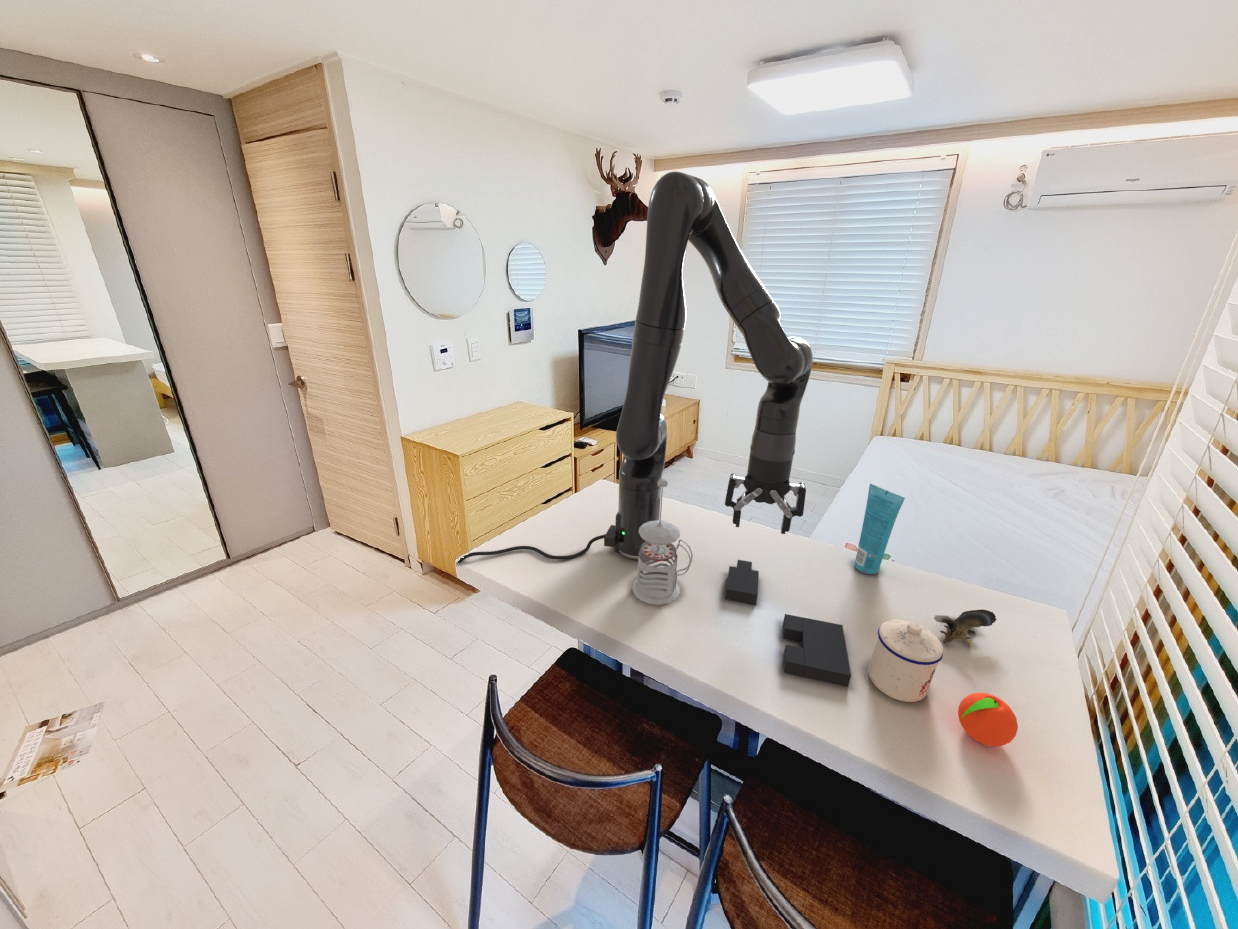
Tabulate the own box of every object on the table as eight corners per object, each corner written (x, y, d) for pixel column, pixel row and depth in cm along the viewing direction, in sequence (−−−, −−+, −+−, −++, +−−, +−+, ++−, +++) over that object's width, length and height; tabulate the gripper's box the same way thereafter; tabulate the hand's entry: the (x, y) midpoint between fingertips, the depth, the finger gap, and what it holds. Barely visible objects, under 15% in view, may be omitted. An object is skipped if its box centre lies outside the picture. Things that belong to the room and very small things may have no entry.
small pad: (755, 605, 99) (757, 595, 98) (725, 599, 100) (726, 589, 99) (757, 572, 108) (759, 563, 107) (729, 567, 110) (730, 558, 109)
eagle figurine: (980, 659, 85) (1005, 631, 89) (962, 621, 85) (989, 595, 89) (936, 652, 92) (962, 626, 96) (920, 617, 92) (946, 592, 96)
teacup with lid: (931, 713, 77) (953, 655, 72) (866, 692, 80) (883, 636, 75) (922, 658, 87) (942, 605, 82) (865, 642, 90) (880, 589, 85)
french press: (640, 570, 108) (645, 464, 98) (693, 582, 105) (704, 474, 94) (625, 598, 100) (629, 485, 89) (682, 612, 96) (693, 497, 86)
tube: (887, 572, 109) (910, 493, 101) (877, 580, 107) (899, 500, 99) (855, 556, 115) (874, 480, 107) (844, 564, 112) (863, 487, 104)
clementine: (971, 762, 70) (987, 727, 67) (934, 719, 76) (948, 685, 73) (1020, 754, 71) (1039, 719, 68) (980, 712, 77) (995, 678, 74)
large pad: (783, 672, 83) (785, 661, 82) (782, 624, 94) (784, 613, 93) (848, 687, 81) (851, 675, 80) (839, 635, 91) (842, 624, 90)
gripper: (811, 448, 92) (797, 524, 99) (733, 439, 95) (724, 513, 102) (815, 464, 85) (799, 545, 92) (730, 454, 89) (720, 532, 96)
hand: (759, 528), depth 97 cm, fingers open, 8 cm apart
